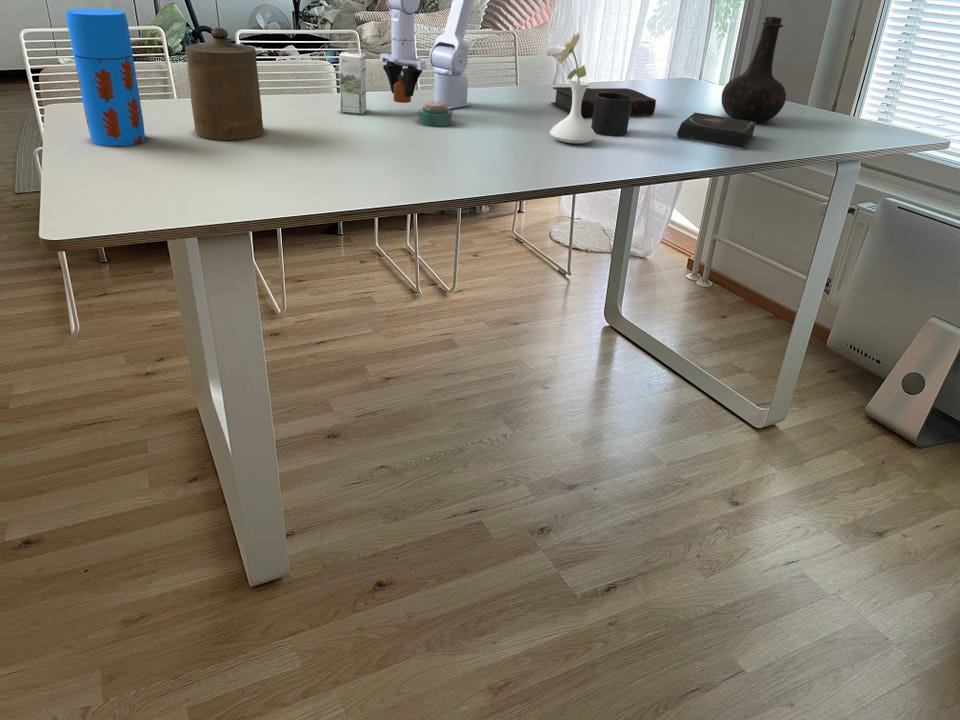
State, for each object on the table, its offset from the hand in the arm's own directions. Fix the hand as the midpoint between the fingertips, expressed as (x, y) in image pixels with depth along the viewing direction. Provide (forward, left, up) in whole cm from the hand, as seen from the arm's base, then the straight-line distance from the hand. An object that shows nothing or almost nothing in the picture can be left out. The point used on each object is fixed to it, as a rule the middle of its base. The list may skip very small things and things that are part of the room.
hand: (402, 94), depth 196 cm
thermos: (+70, -16, -5) cm, 72 cm away
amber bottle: (0, 0, -2) cm, 2 cm away
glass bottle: (-80, +65, -5) cm, 103 cm away
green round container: (+1, +13, -5) cm, 14 cm away
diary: (-52, +31, -5) cm, 61 cm away
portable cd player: (-49, +68, -5) cm, 84 cm away
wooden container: (+48, -8, -5) cm, 49 cm away
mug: (-31, +47, -5) cm, 56 cm away
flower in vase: (-12, +46, -5) cm, 48 cm away
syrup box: (+10, -8, -5) cm, 14 cm away
